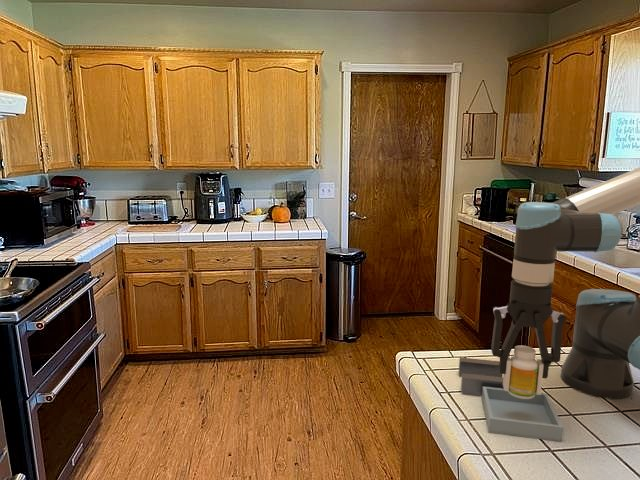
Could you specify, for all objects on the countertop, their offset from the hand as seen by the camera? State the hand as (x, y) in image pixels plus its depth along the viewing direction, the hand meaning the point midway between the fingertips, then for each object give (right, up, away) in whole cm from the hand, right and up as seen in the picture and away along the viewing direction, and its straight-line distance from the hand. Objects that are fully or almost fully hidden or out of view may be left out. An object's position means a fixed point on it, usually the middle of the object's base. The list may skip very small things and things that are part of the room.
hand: (521, 389), depth 99 cm
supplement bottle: (0, -1, 0) cm, 1 cm away
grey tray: (0, -6, +1) cm, 7 cm away
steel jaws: (-3, -4, +15) cm, 16 cm away
